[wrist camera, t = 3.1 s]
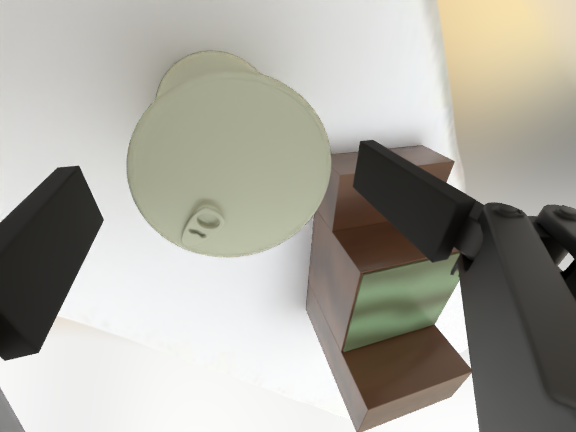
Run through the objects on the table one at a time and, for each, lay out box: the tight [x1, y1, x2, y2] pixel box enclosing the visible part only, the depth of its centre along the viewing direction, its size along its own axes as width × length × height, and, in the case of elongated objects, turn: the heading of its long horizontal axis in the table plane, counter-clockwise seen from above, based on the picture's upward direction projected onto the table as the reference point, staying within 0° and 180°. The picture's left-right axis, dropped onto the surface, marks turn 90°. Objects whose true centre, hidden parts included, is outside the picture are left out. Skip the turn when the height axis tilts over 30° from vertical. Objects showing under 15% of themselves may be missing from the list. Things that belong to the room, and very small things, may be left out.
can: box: [127, 51, 331, 257], centre depth 16 cm, size 9×9×12 cm
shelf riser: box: [306, 145, 472, 432], centre depth 28 cm, size 24×12×16 cm, turn 179°
